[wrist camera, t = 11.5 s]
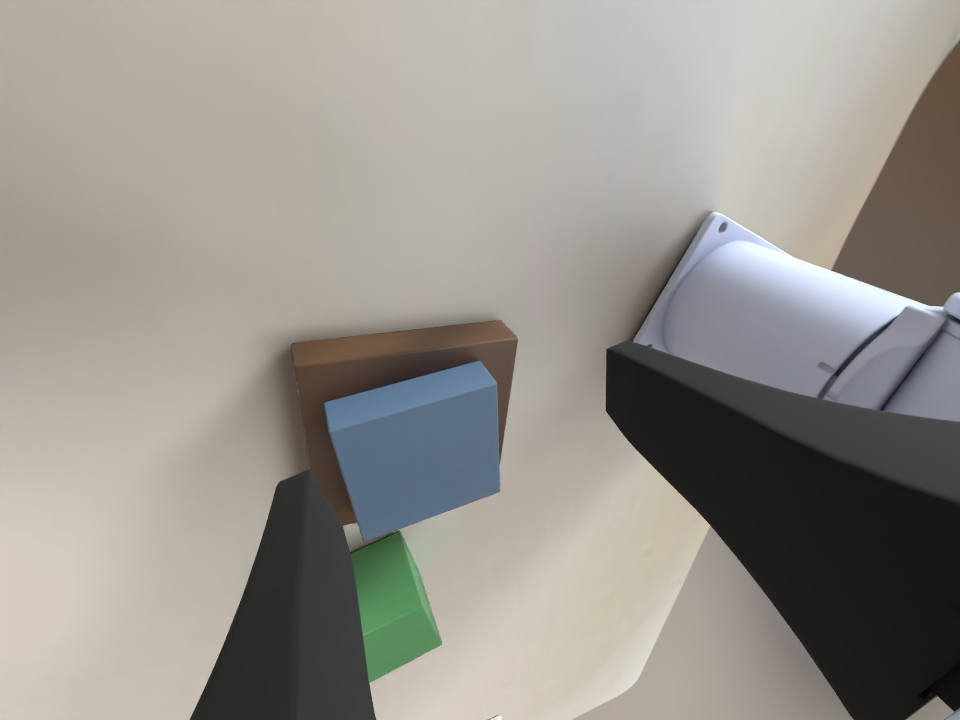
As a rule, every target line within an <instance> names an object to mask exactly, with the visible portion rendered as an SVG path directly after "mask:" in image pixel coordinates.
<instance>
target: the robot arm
mask: <svg viewBox="0 0 960 720" xmlns="http://www.w3.org/2000/svg"><path fill="white" fill-rule="evenodd" d="M606 412H607V413H608V415H609V416H610V417H611V419H612V420H613V421H614V423H615V424H616V425H617V427H618V428H619V429H620V431H621V432H622V433H623V435H624V436H625V437H626V438H627V440H628V441H629V442H630V443H631V444H632V445H633V446H634V447H635V449H636V450H637V451H638V452H639V453H640V454H641V455H642V456H643V457H644V458H645V459H646V460H647V461H648V462H649V463H650V464H651V465H652V466H653V467H654V468H655V469H656V470H657V471H658V472H659V473H660V474H661V475H662V476H663V477H664V478H665V479H666V480H667V481H668V482H669V483H670V484H671V485H672V486H673V487H674V488H675V489H676V490H677V491H678V492H679V493H680V494H681V495H682V496H683V497H684V498H685V499H686V500H687V501H688V502H689V503H690V504H691V505H692V506H693V507H694V508H695V509H696V510H697V511H698V512H699V513H700V514H701V515H702V517H703V518H704V519H705V520H706V521H707V522H708V523H709V524H710V525H711V526H712V528H713V529H714V530H715V531H716V532H717V534H718V535H719V536H720V537H721V538H722V540H723V541H724V542H725V543H726V545H727V546H728V547H729V548H730V550H731V551H732V552H733V553H734V554H735V556H736V557H737V558H738V559H739V560H740V562H741V563H742V564H743V566H744V567H745V568H746V569H747V571H748V572H749V573H750V575H751V576H752V577H753V578H754V580H755V581H756V582H757V584H758V585H759V586H760V587H761V589H762V590H763V591H764V593H765V594H766V595H767V596H768V598H769V599H770V600H771V602H772V603H773V605H774V606H775V607H776V609H777V610H778V611H779V613H780V614H781V616H782V617H783V618H784V620H785V621H786V622H787V624H788V625H789V626H790V628H791V629H792V631H793V632H794V633H795V635H796V636H797V637H798V639H799V640H800V641H801V643H802V644H803V646H804V647H805V649H806V650H807V652H808V653H809V655H810V656H811V657H812V659H813V660H814V662H815V663H816V665H817V666H818V668H819V669H820V671H821V672H822V673H823V675H824V677H825V678H826V679H827V681H828V682H829V683H830V685H831V687H832V688H833V689H834V691H835V693H836V694H837V696H838V697H839V699H840V700H841V702H842V704H843V705H844V707H845V708H846V710H847V711H848V713H849V714H850V716H851V717H852V718H853V719H854V720H906V719H907V718H909V717H910V716H911V715H913V714H914V713H915V712H917V711H918V710H919V709H921V708H922V707H923V706H924V705H926V704H927V703H929V702H930V701H931V700H933V699H934V698H935V697H937V696H938V697H939V698H940V699H941V700H943V702H945V703H946V704H947V705H948V706H949V707H950V708H951V709H952V710H953V711H954V712H953V713H952V714H951V715H950V716H948V717H947V718H946V719H944V720H960V293H954V294H953V295H952V296H950V297H949V299H948V300H947V302H946V303H945V305H944V306H943V307H936V306H927V305H924V304H922V303H919V302H916V301H913V300H910V299H908V298H905V297H902V296H899V295H897V294H894V293H891V292H888V291H885V290H883V289H880V288H877V287H874V286H871V285H869V284H866V283H863V282H860V281H858V280H855V279H852V278H849V277H846V276H844V275H841V274H838V273H835V272H832V271H830V270H827V269H824V268H821V267H819V266H816V265H813V264H810V263H807V262H805V261H802V260H799V259H796V258H794V257H792V256H790V255H789V254H787V253H785V252H784V251H782V250H780V249H779V248H777V247H776V246H774V245H772V244H771V243H769V242H767V241H766V240H764V239H762V238H761V237H759V236H757V235H756V234H754V233H752V232H751V231H749V230H747V229H746V228H744V227H743V226H741V225H739V224H738V223H736V222H734V221H733V220H731V219H729V218H728V217H726V216H724V215H723V214H720V213H717V212H714V213H711V214H710V215H709V216H708V217H707V218H706V219H705V221H704V223H703V224H702V226H701V228H700V229H699V231H698V233H697V235H696V236H695V238H694V240H693V241H692V243H691V245H690V246H689V248H688V250H687V251H686V253H685V255H684V256H683V258H682V260H681V261H680V263H679V265H678V266H677V268H676V270H675V271H674V273H673V275H672V276H671V278H670V280H669V281H668V283H667V285H666V286H665V288H664V290H663V291H662V293H661V295H660V296H659V298H658V300H657V301H656V303H655V305H654V306H653V308H652V310H651V311H650V313H649V315H648V316H647V318H646V320H645V322H644V323H643V325H642V327H641V328H640V330H639V332H638V333H637V335H636V337H635V338H634V340H633V342H631V341H625V342H623V343H620V344H618V345H615V346H613V347H610V348H608V349H607V353H606ZM190 720H376V717H375V713H374V708H373V702H372V697H371V691H370V685H369V678H368V670H367V663H366V655H365V648H364V640H363V632H362V625H361V617H360V609H359V602H358V595H357V587H356V580H355V573H354V568H353V564H352V560H351V556H350V552H349V548H348V544H347V541H346V537H345V533H344V529H343V526H342V524H341V523H340V521H339V519H338V518H337V516H336V514H335V513H334V511H333V509H332V507H331V506H330V504H329V502H328V501H327V499H326V497H325V496H324V494H323V492H322V491H321V489H320V487H319V486H318V484H317V482H316V480H315V479H314V477H313V475H312V474H311V472H310V470H307V471H305V472H302V473H300V474H297V475H295V476H292V477H290V478H287V479H285V480H282V481H280V482H279V483H278V485H277V487H276V490H275V494H274V497H273V501H272V505H271V508H270V512H269V516H268V519H267V523H266V526H265V529H264V533H263V536H262V539H261V542H260V546H259V549H258V552H257V555H256V558H255V561H254V564H253V567H252V570H251V573H250V576H249V579H248V582H247V585H246V587H245V590H244V593H243V596H242V599H241V601H240V604H239V606H238V609H237V611H236V614H235V616H234V619H233V622H232V624H231V627H230V629H229V632H228V634H227V637H226V640H225V642H224V645H223V647H222V649H221V652H220V654H219V657H218V659H217V661H216V664H215V666H214V668H213V671H212V673H211V675H210V677H209V680H208V682H207V684H206V686H205V689H204V691H203V693H202V695H201V697H200V699H199V701H198V703H197V706H196V708H195V710H194V712H193V714H192V716H191V718H190Z"/></svg>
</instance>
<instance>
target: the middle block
mask: <svg viewBox="0 0 960 720" xmlns="http://www.w3.org/2000/svg"><path fill="white" fill-rule="evenodd" d="M324 410H325V415H326V420H327V426H328V431H329V434H330V438H331V441H332V444H333V447H334V450H335V453H336V456H337V460H338V463H339V466H340V469H341V472H342V475H343V479H344V482H345V485H346V488H347V491H348V494H349V497H350V501H351V504H352V507H353V510H354V513H355V516H356V520H357V523H358V526H359V529H360V532H361V535H362V538H363V541H364V542H365V541H368V540H371V539H373V538H376V537H379V536H382V535H384V534H387V533H390V532H392V531H395V530H398V529H401V528H403V527H406V526H409V525H411V524H414V523H417V522H419V521H422V520H425V519H428V518H430V517H433V516H436V515H438V514H441V513H444V512H447V511H449V510H452V509H455V508H457V507H460V506H463V505H466V504H468V503H471V502H474V501H476V500H479V499H482V498H485V497H487V496H490V495H493V494H495V493H498V492H500V469H499V436H498V402H497V383H496V381H495V380H494V379H493V377H492V376H491V375H490V373H489V372H488V371H487V369H486V368H485V367H484V365H483V364H482V363H481V361H476V362H472V363H469V364H465V365H461V366H458V367H454V368H450V369H446V370H443V371H439V372H435V373H432V374H428V375H424V376H421V377H417V378H413V379H410V380H406V381H402V382H399V383H395V384H391V385H387V386H384V387H380V388H376V389H373V390H369V391H365V392H362V393H358V394H354V395H351V396H347V397H343V398H340V399H336V400H332V401H328V402H325V403H324Z"/></svg>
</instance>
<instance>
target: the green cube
mask: <svg viewBox="0 0 960 720" xmlns="http://www.w3.org/2000/svg"><path fill="white" fill-rule="evenodd" d="M350 556H351V560H352V564H353V568H354V573H355V580H356V587H357V595H358V602H359V609H360V617H361V625H362V632H363V640H364V648H365V655H366V663H367V670H368V678H369V683H370V682H372V681H374V680H376V679H377V678H379V677H381V676H383V675H385V674H387V673H389V672H391V671H393V670H395V669H396V668H398V667H400V666H402V665H404V664H406V663H408V662H410V661H412V660H414V659H415V658H417V657H419V656H421V655H423V654H425V653H427V652H429V651H431V650H432V649H434V648H436V647H438V646H440V645H442V641H441V638H440V635H439V632H438V629H437V626H436V622H435V619H434V616H433V613H432V610H431V607H430V604H429V601H428V598H427V594H426V591H425V588H424V585H423V582H422V579H421V576H420V573H419V570H418V568H417V566H416V564H415V562H414V560H413V557H412V555H411V553H410V551H409V549H408V547H407V545H406V542H405V540H404V538H403V536H402V534H401V532H400V531H399V532H397V533H395V534H392V535H390V536H388V537H386V538H384V539H381V540H379V541H377V542H375V543H373V544H370V545H368V546H366V547H364V548H362V549H360V550H357V551H355V552H353V553H351V554H350Z"/></svg>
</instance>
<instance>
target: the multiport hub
mask: <svg viewBox="0 0 960 720" xmlns="http://www.w3.org/2000/svg"><path fill="white" fill-rule="evenodd" d="M490 720H503V718H502V716H501V715H499V716H497V717H494V718H492V719H490Z"/></svg>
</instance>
